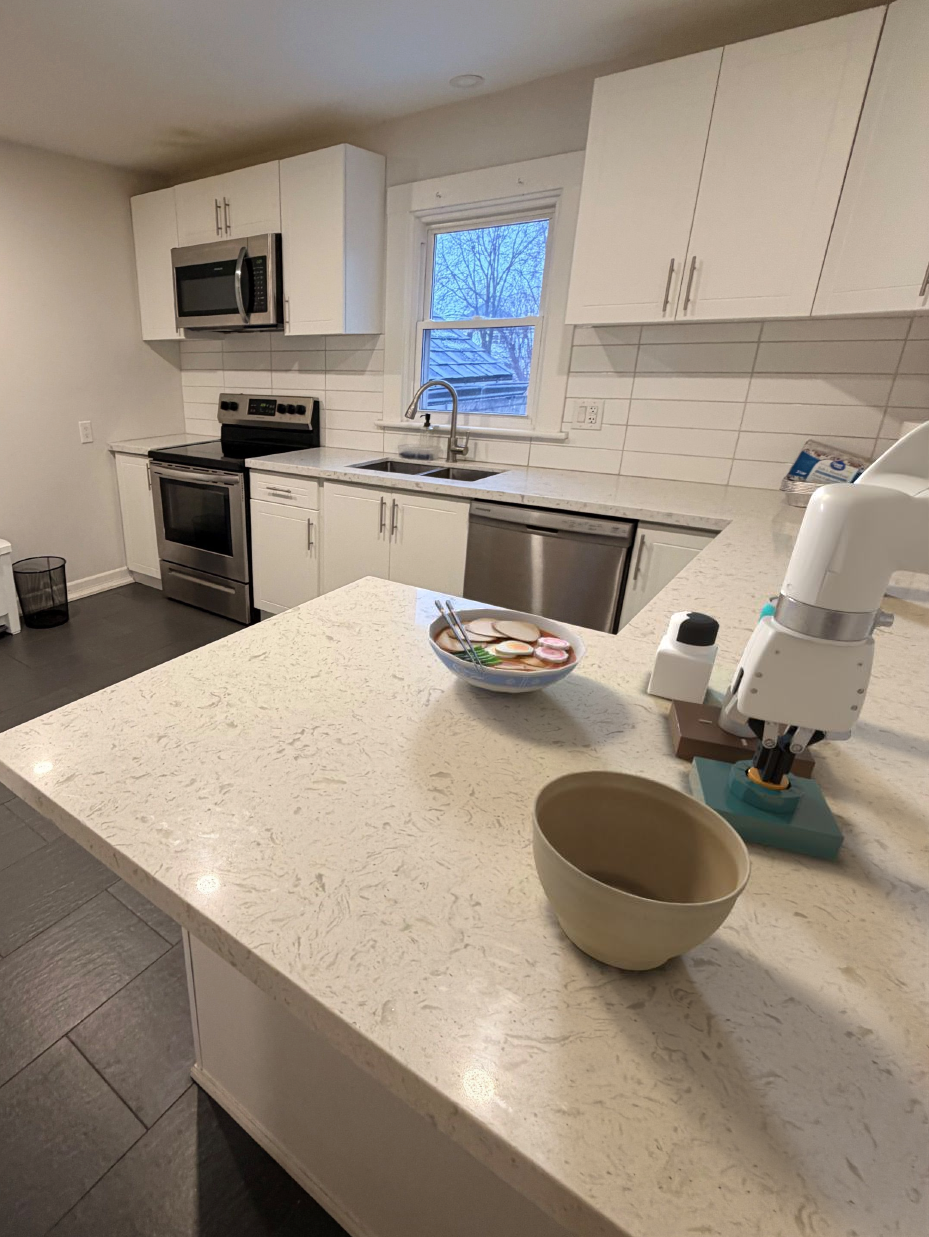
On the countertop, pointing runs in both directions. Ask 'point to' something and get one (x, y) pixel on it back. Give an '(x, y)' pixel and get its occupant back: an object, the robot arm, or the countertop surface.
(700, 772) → the button base
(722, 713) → the tap knob
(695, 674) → the medicine bottle
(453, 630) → the ramen bowl
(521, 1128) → the countertop surface
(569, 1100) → the countertop surface
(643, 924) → the planter bowl
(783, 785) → the yellow push button
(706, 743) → the panel
